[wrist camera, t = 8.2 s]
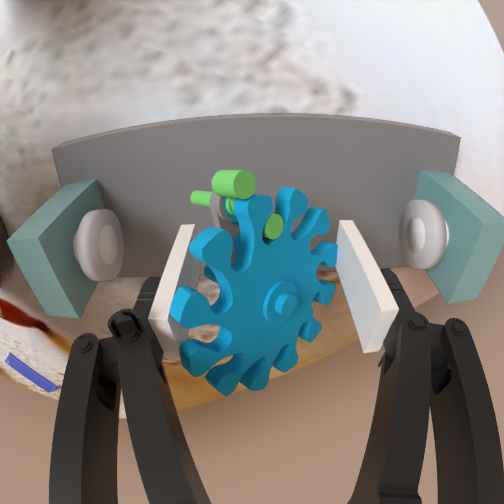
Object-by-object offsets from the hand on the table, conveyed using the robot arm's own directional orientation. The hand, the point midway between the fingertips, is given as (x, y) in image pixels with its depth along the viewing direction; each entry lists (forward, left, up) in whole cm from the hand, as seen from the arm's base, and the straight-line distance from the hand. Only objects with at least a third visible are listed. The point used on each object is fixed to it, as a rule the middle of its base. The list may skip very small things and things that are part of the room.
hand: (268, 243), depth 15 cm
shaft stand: (0, 0, -6) cm, 6 cm away
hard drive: (-48, -33, -7) cm, 59 cm away
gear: (0, 0, 0) cm, 0 cm away
